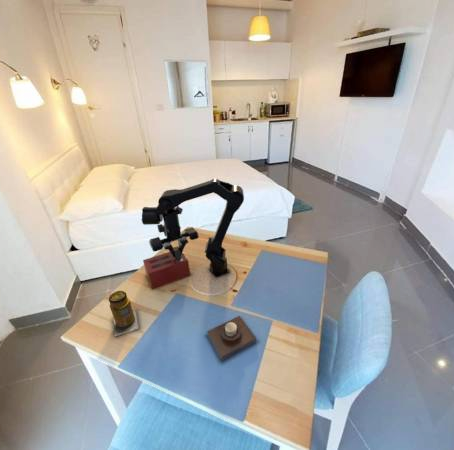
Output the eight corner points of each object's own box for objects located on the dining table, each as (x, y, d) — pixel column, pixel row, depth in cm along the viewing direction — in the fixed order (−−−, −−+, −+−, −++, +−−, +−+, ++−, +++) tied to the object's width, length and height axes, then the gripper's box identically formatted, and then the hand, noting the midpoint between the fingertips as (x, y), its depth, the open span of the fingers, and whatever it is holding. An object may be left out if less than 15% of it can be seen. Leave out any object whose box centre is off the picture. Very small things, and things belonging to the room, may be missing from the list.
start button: (233, 324, 79) (233, 320, 78) (239, 333, 77) (238, 328, 76) (223, 329, 78) (222, 325, 77) (228, 338, 75) (228, 334, 74)
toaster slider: (178, 253, 106) (177, 246, 104) (181, 257, 104) (180, 249, 102) (173, 255, 105) (172, 247, 103) (175, 259, 103) (174, 251, 101)
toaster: (182, 262, 114) (179, 248, 110) (190, 275, 106) (188, 259, 102) (146, 275, 107) (142, 259, 103) (152, 289, 99) (148, 273, 96)
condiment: (135, 310, 90) (127, 285, 84) (138, 328, 83) (130, 302, 77) (113, 318, 87) (104, 293, 81) (114, 337, 80) (104, 311, 75)
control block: (239, 320, 85) (239, 311, 83) (256, 342, 78) (256, 333, 76) (207, 335, 80) (206, 327, 78) (221, 361, 73) (221, 353, 71)
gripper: (187, 210, 107) (191, 240, 115) (142, 221, 99) (150, 253, 106) (197, 220, 99) (200, 252, 106) (149, 233, 90) (157, 267, 98)
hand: (177, 255), depth 104 cm, fingers closed on toaster slider, 2 cm apart
